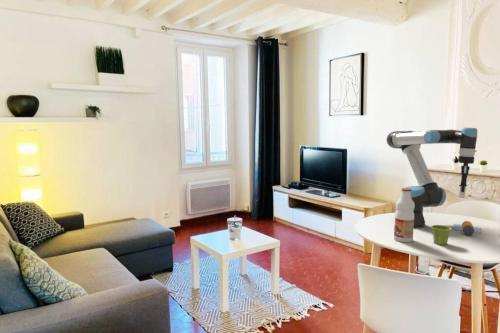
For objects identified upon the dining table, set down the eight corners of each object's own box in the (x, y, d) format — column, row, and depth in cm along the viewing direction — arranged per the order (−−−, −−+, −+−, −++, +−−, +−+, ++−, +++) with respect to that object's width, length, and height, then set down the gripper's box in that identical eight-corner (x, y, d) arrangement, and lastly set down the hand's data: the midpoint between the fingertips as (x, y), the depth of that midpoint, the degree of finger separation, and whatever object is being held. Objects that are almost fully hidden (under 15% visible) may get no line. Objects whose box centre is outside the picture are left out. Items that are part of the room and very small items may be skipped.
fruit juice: (412, 243, 193) (416, 190, 189) (393, 241, 196) (396, 189, 193) (412, 238, 201) (416, 187, 198) (394, 236, 205) (397, 186, 201)
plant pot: (441, 247, 188) (442, 230, 187) (426, 241, 196) (427, 225, 195) (454, 245, 191) (455, 228, 190) (438, 239, 200) (440, 224, 199)
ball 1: (466, 219, 216) (465, 218, 220) (459, 226, 217) (459, 226, 222) (475, 225, 213) (474, 224, 218) (468, 232, 214) (468, 232, 219)
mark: (481, 233, 212) (481, 233, 212) (453, 229, 219) (453, 229, 219) (479, 227, 224) (479, 227, 224) (453, 223, 231) (453, 223, 231)
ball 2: (467, 221, 210) (466, 229, 213) (461, 226, 208) (460, 233, 211) (477, 227, 205) (475, 234, 208) (470, 231, 204) (469, 238, 207)
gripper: (474, 157, 197) (469, 200, 201) (474, 155, 208) (469, 196, 212) (458, 156, 201) (453, 198, 204) (459, 154, 212) (454, 194, 216)
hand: (461, 197), depth 208 cm, fingers closed
